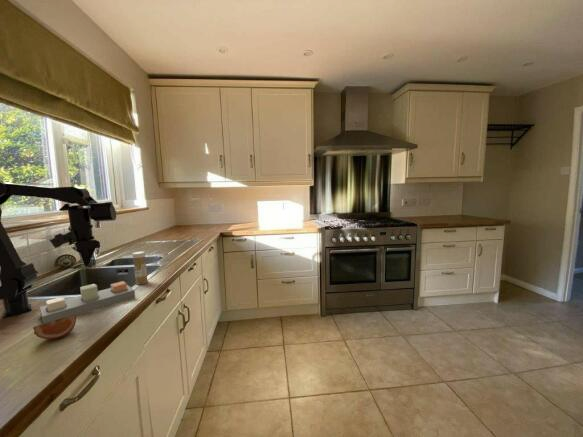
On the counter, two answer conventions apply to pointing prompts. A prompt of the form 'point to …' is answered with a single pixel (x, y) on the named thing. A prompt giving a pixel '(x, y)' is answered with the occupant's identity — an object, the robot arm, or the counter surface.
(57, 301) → the ivory key
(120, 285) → the terracotta key
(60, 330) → the fruit slice
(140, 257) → the sprinkles bottle
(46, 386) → the counter surface
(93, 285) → the sage key
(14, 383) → the counter surface
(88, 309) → the key panel
